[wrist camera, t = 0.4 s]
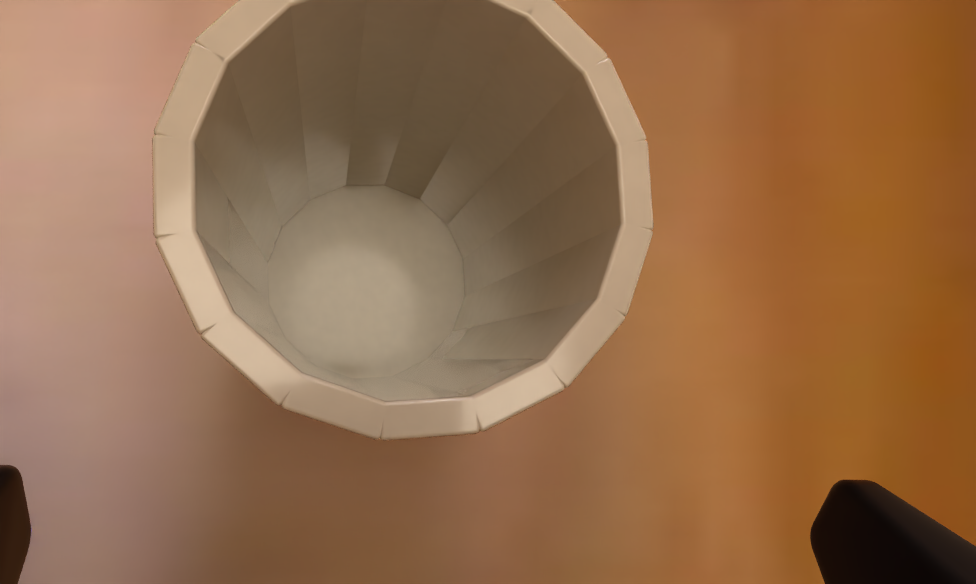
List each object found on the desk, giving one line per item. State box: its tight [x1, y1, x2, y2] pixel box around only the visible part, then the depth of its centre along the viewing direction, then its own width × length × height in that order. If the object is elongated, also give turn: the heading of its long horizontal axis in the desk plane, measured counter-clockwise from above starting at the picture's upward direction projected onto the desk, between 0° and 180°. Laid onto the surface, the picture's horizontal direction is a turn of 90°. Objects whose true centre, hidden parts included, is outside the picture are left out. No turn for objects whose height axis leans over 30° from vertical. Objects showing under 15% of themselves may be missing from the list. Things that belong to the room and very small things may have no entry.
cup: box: [152, 0, 653, 441], centre depth 16 cm, size 7×7×13 cm
